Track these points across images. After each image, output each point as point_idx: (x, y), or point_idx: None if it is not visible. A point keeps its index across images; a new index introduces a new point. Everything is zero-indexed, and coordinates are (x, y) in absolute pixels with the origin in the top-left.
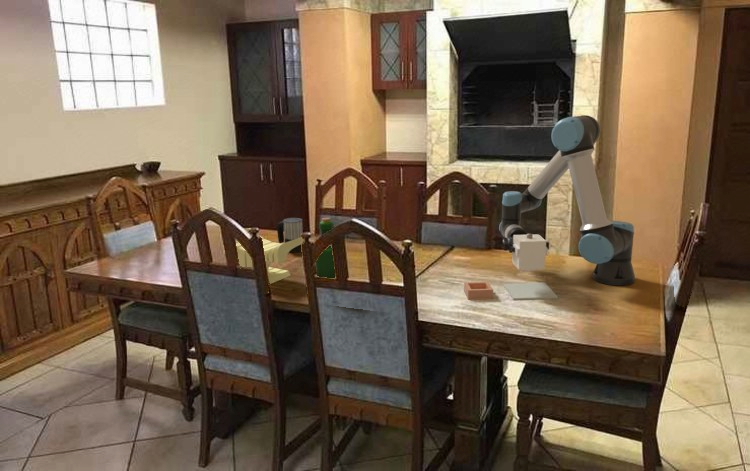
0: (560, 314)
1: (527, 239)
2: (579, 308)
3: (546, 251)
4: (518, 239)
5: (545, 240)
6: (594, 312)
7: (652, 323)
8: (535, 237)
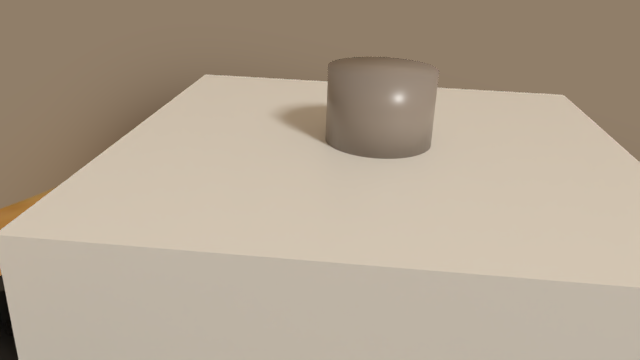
0: None
1: (437, 115)
2: None
3: None
4: (590, 127)
5: (198, 80)
6: None
7: (12, 212)
8: (252, 140)
